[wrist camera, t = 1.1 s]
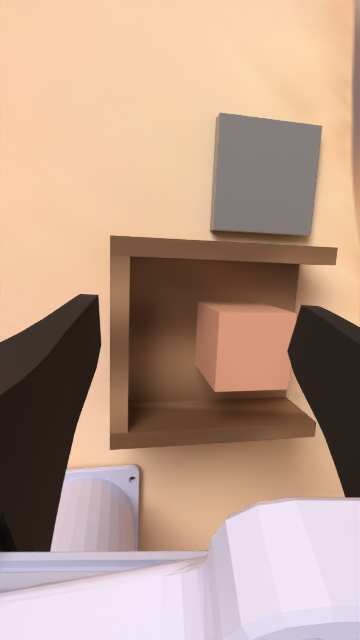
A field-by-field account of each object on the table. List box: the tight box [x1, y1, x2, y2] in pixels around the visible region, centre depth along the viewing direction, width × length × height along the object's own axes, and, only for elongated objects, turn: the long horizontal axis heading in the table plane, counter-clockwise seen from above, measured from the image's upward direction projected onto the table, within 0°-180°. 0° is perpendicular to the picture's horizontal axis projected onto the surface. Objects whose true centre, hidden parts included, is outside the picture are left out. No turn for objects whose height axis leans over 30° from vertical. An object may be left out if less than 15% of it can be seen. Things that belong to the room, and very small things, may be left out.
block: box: [195, 301, 297, 392], centre depth 20 cm, size 4×4×5 cm
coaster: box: [210, 113, 322, 236], centre depth 22 cm, size 7×7×1 cm
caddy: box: [110, 236, 338, 450], centre depth 21 cm, size 12×13×5 cm
